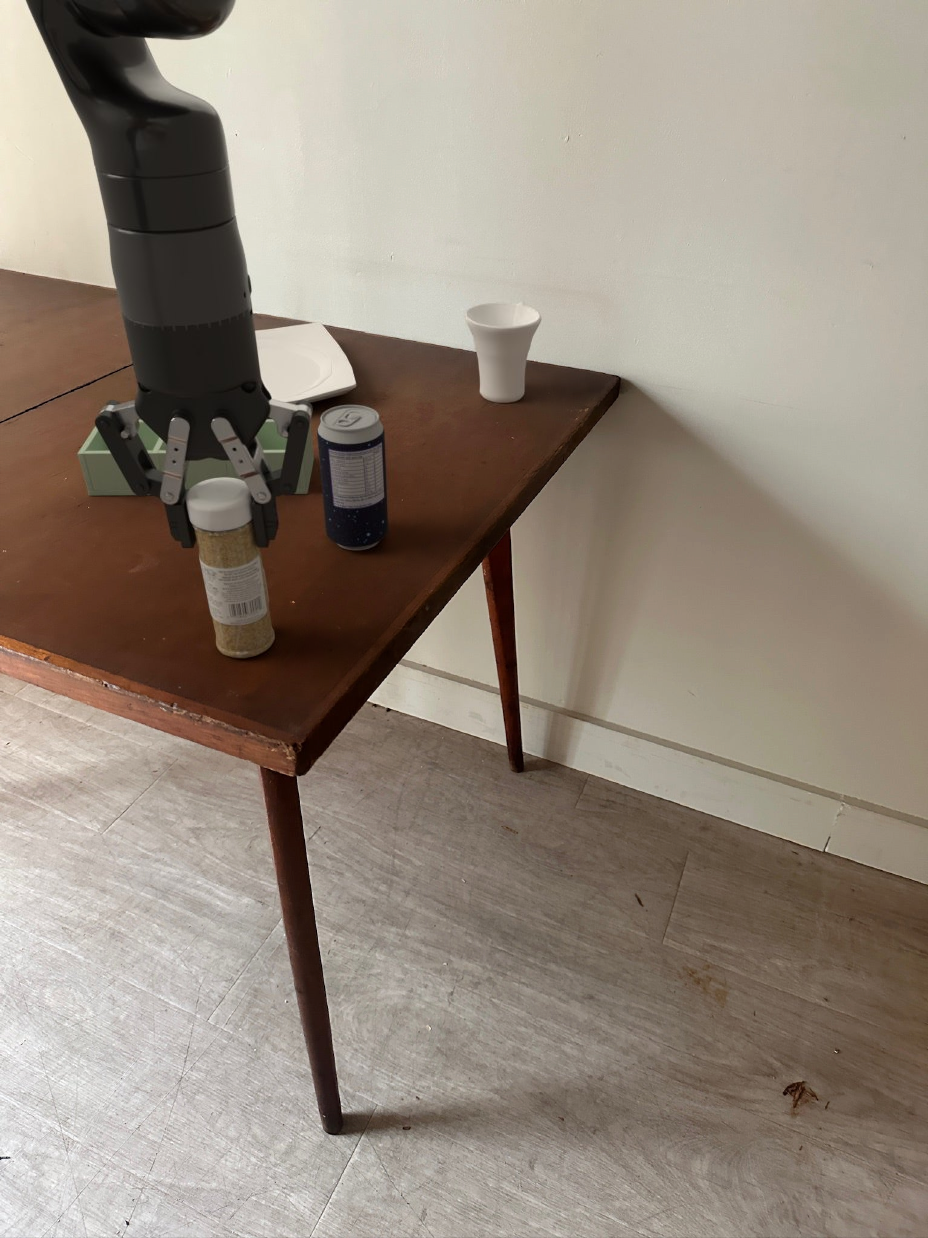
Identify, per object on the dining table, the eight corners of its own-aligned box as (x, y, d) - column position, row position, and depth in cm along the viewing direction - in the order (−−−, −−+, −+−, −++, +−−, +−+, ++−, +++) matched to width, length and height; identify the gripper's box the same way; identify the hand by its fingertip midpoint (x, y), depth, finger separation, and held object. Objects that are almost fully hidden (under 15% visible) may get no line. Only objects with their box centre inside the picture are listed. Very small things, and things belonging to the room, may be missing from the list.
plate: (328, 337, 120) (326, 318, 119) (369, 408, 102) (368, 387, 100) (144, 354, 114) (140, 334, 112) (153, 434, 96) (148, 411, 94)
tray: (89, 495, 85) (77, 453, 82) (109, 460, 91) (99, 419, 88) (307, 494, 86) (303, 452, 83) (314, 459, 92) (310, 418, 89)
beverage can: (399, 530, 81) (395, 410, 73) (369, 561, 77) (362, 437, 69) (347, 516, 83) (338, 397, 75) (314, 545, 79) (302, 422, 71)
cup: (550, 390, 108) (557, 309, 101) (509, 415, 102) (513, 330, 95) (492, 372, 112) (495, 293, 105) (448, 395, 106) (449, 313, 99)
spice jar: (273, 621, 70) (251, 471, 61) (276, 657, 66) (254, 503, 58) (215, 628, 69) (185, 477, 60) (215, 664, 65) (183, 510, 57)
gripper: (41, 320, 48) (112, 573, 58) (301, 320, 49) (324, 570, 59) (82, 279, 54) (139, 516, 64) (312, 280, 55) (332, 514, 65)
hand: (228, 541), depth 62 cm, fingers closed on spice jar, 4 cm apart
